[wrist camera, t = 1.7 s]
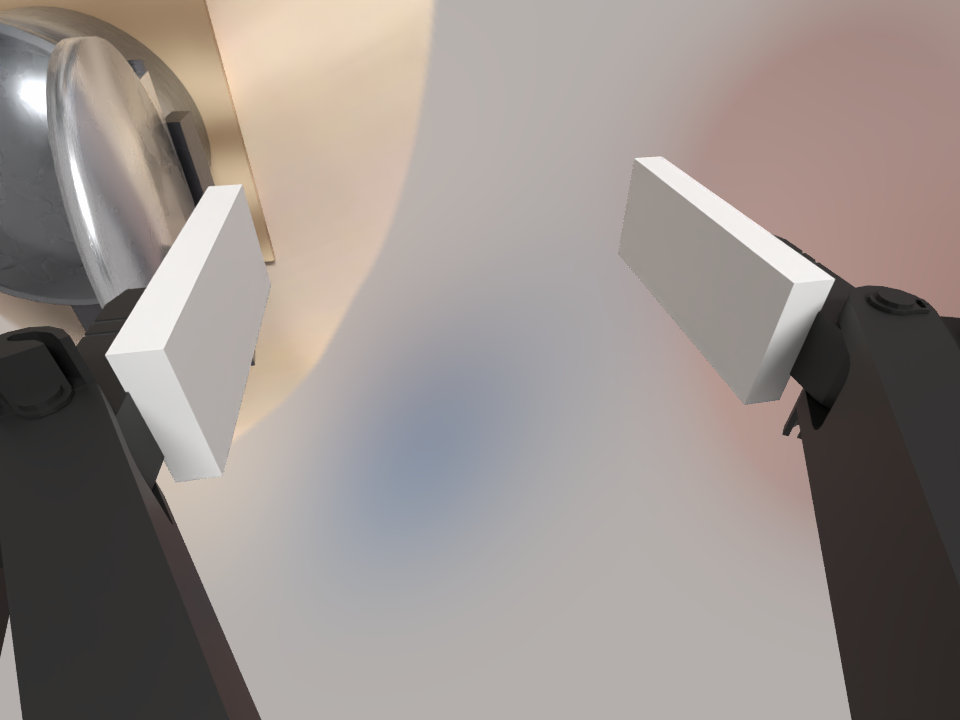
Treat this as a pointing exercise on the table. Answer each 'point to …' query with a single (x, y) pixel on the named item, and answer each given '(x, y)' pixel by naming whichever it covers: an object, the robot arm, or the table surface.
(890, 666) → the robot arm
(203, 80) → the trivet
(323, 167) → the table surface
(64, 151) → the lid
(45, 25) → the pot
